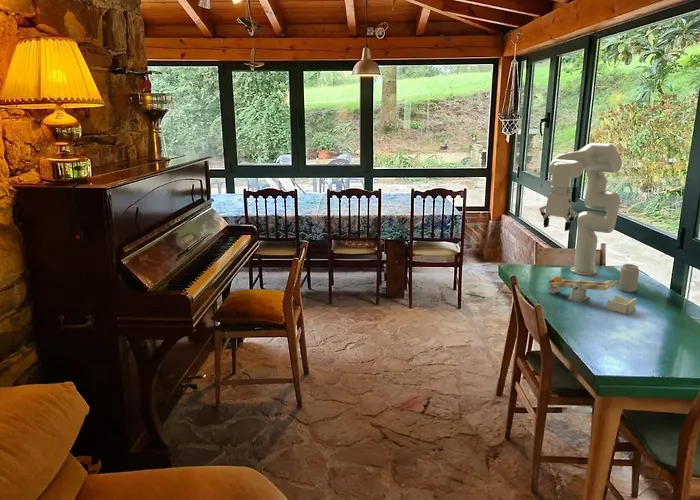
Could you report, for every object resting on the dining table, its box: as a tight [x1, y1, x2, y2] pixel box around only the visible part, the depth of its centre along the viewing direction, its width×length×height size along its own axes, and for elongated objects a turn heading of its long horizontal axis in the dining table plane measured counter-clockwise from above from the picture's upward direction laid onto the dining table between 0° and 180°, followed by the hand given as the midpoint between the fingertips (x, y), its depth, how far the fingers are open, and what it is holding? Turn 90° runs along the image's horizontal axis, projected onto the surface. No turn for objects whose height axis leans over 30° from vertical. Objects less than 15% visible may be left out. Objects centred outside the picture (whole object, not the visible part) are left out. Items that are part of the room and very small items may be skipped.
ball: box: [552, 275, 563, 283], centre depth 240 cm, size 4×4×4 cm
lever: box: [548, 278, 619, 291], centre depth 236 cm, size 25×14×3 cm, turn 43°
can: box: [618, 263, 640, 293], centre depth 244 cm, size 8×8×12 cm
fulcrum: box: [547, 284, 590, 304], centre depth 237 cm, size 16×11×7 cm, turn 44°
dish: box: [606, 295, 637, 316], centre depth 222 cm, size 8×8×5 cm
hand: (556, 228), depth 235 cm, fingers open, 9 cm apart
